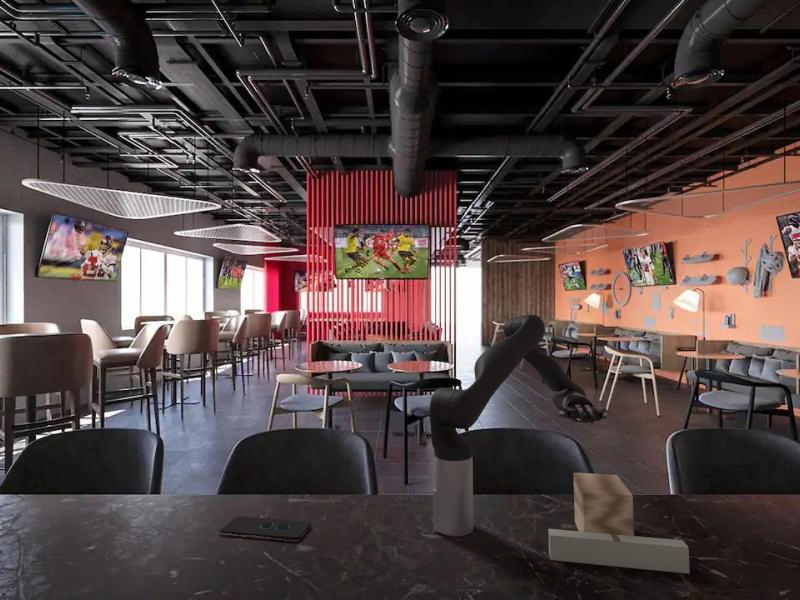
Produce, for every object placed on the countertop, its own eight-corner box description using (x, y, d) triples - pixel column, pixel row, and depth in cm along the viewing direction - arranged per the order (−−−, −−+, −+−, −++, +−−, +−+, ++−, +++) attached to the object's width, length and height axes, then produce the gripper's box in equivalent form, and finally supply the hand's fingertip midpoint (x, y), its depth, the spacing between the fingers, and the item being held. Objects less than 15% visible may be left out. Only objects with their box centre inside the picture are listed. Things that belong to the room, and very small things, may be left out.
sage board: (550, 559, 93) (549, 534, 93) (548, 552, 96) (548, 528, 96) (689, 573, 88) (688, 546, 88) (683, 565, 91) (682, 539, 91)
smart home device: (298, 537, 101) (218, 530, 105) (298, 545, 101) (218, 537, 105) (312, 521, 109) (237, 515, 113) (312, 528, 109) (237, 522, 113)
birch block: (585, 547, 98) (583, 491, 99) (574, 521, 111) (573, 472, 112) (634, 552, 96) (632, 495, 97) (618, 525, 109) (616, 475, 109)
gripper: (553, 393, 135) (561, 404, 118) (601, 394, 132) (616, 405, 115) (554, 418, 135) (562, 432, 118) (601, 420, 132) (617, 435, 115)
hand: (589, 419), depth 116 cm, fingers closed
